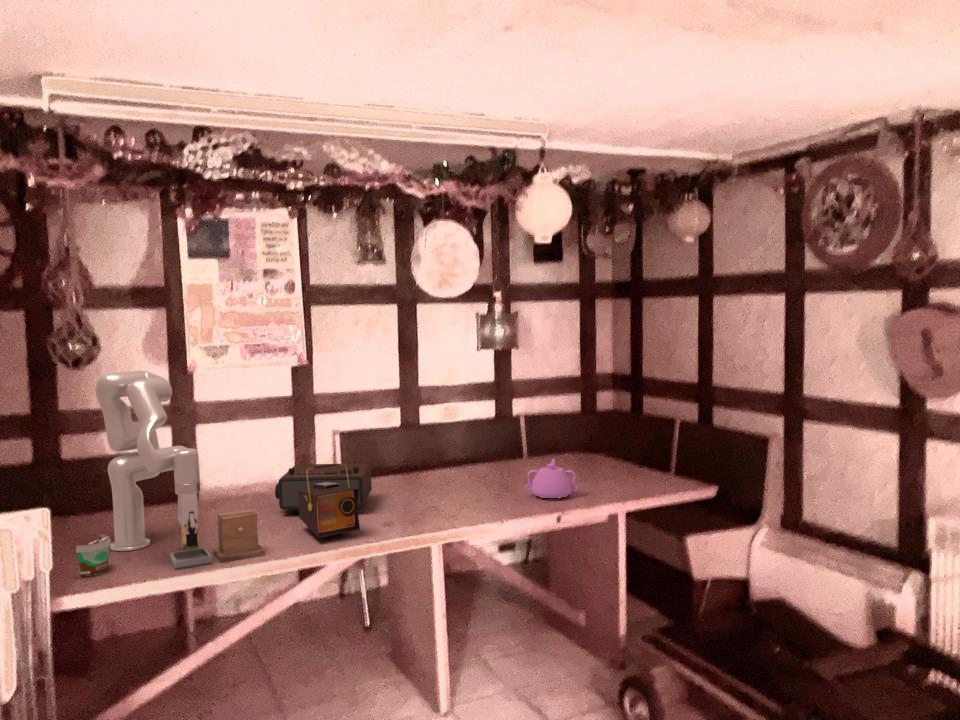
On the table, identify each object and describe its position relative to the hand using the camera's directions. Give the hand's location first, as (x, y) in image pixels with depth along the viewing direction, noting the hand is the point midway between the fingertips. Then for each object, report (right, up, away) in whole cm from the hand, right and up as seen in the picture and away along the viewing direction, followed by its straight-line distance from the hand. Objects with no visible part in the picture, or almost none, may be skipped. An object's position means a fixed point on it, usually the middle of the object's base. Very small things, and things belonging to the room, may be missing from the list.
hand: (190, 543), depth 248 cm
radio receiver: (+30, -2, +66) cm, 73 cm away
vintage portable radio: (+38, -4, +29) cm, 48 cm away
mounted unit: (+13, -5, +8) cm, 16 cm away
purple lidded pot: (+123, +1, +79) cm, 146 cm away
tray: (0, -6, +1) cm, 6 cm away
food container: (-26, -7, -7) cm, 28 cm away
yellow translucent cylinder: (0, -1, 0) cm, 1 cm away
